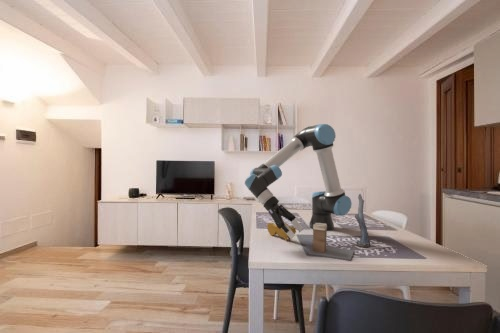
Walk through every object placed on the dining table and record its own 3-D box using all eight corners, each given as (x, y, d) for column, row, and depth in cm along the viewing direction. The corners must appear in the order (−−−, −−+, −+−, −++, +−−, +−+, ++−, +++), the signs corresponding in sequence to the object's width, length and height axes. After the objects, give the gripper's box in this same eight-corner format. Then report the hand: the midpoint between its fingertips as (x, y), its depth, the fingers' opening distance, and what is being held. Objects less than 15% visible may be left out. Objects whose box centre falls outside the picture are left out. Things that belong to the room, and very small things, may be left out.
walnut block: (315, 248, 130) (315, 222, 130) (326, 249, 128) (326, 223, 128) (313, 251, 126) (313, 224, 126) (324, 252, 124) (324, 226, 124)
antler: (372, 248, 133) (372, 196, 133) (354, 247, 135) (355, 195, 135) (367, 241, 144) (368, 193, 144) (351, 240, 146) (352, 193, 146)
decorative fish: (298, 240, 141) (295, 220, 143) (293, 241, 139) (290, 221, 141) (272, 240, 159) (270, 222, 161) (267, 241, 157) (265, 223, 159)
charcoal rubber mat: (315, 246, 136) (315, 244, 136) (354, 251, 128) (354, 250, 128) (307, 254, 123) (307, 252, 123) (350, 260, 115) (350, 259, 115)
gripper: (272, 202, 151) (299, 232, 144) (252, 209, 128) (283, 245, 122) (282, 192, 148) (309, 223, 142) (263, 198, 126) (295, 234, 119)
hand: (297, 233), depth 132 cm, fingers open, 13 cm apart
